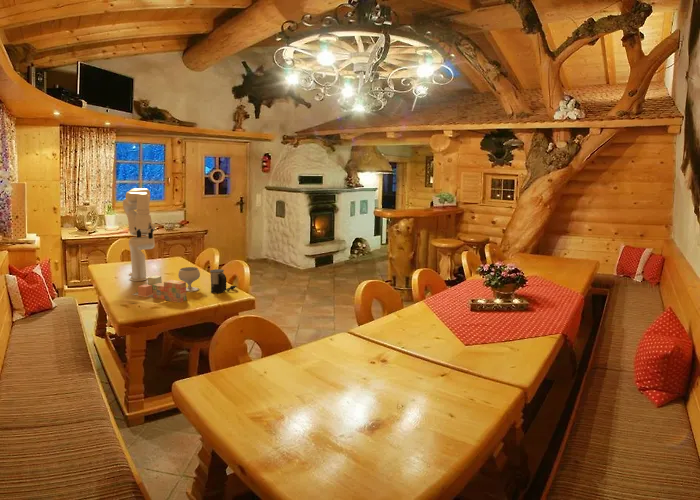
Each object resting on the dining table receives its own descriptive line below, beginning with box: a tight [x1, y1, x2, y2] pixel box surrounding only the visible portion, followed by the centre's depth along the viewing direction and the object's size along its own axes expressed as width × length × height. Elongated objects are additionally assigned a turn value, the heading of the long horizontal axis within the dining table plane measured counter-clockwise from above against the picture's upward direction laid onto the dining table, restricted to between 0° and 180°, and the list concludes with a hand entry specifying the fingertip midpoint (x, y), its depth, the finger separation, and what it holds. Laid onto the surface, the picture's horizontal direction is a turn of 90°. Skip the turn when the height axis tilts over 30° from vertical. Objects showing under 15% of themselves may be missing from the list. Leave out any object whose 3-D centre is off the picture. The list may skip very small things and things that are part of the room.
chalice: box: [177, 266, 201, 293], centre depth 337 cm, size 14×14×15 cm
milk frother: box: [209, 268, 237, 294], centre depth 337 cm, size 14×16×15 cm
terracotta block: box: [137, 283, 152, 297], centre depth 322 cm, size 6×6×6 cm
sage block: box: [147, 275, 163, 287], centre depth 330 cm, size 6×6×6 cm
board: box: [131, 291, 153, 298], centre depth 327 cm, size 18×17×1 cm
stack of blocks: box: [152, 279, 188, 303], centre depth 315 cm, size 21×6×12 cm, turn 70°
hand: (144, 237), depth 329 cm, fingers open, 9 cm apart
